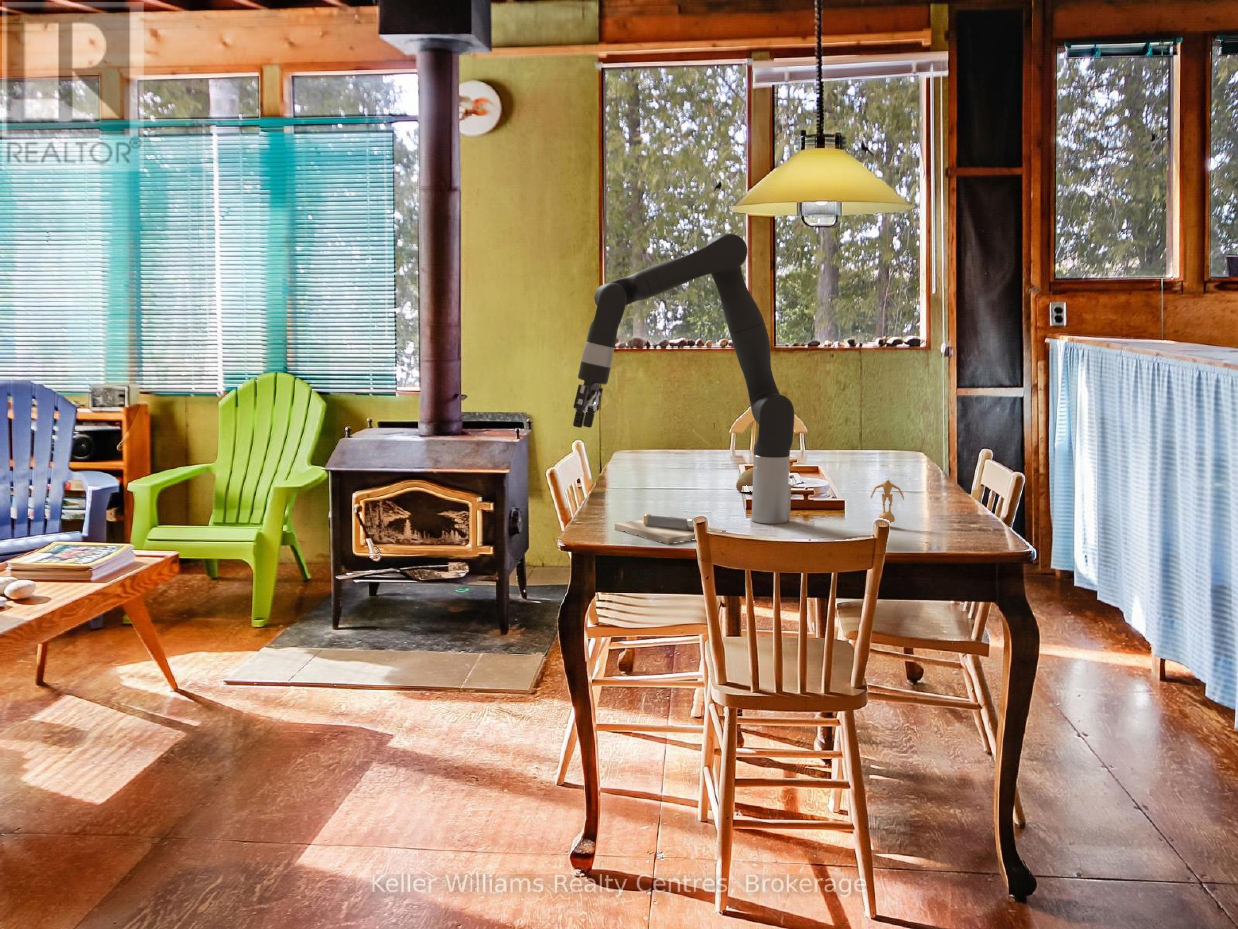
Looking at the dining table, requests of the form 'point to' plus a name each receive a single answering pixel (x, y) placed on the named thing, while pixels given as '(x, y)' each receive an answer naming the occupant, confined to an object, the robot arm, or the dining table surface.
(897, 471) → the dining table surface
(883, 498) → the figurine
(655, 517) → the leg
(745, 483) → the bread roll
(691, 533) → the hole board
